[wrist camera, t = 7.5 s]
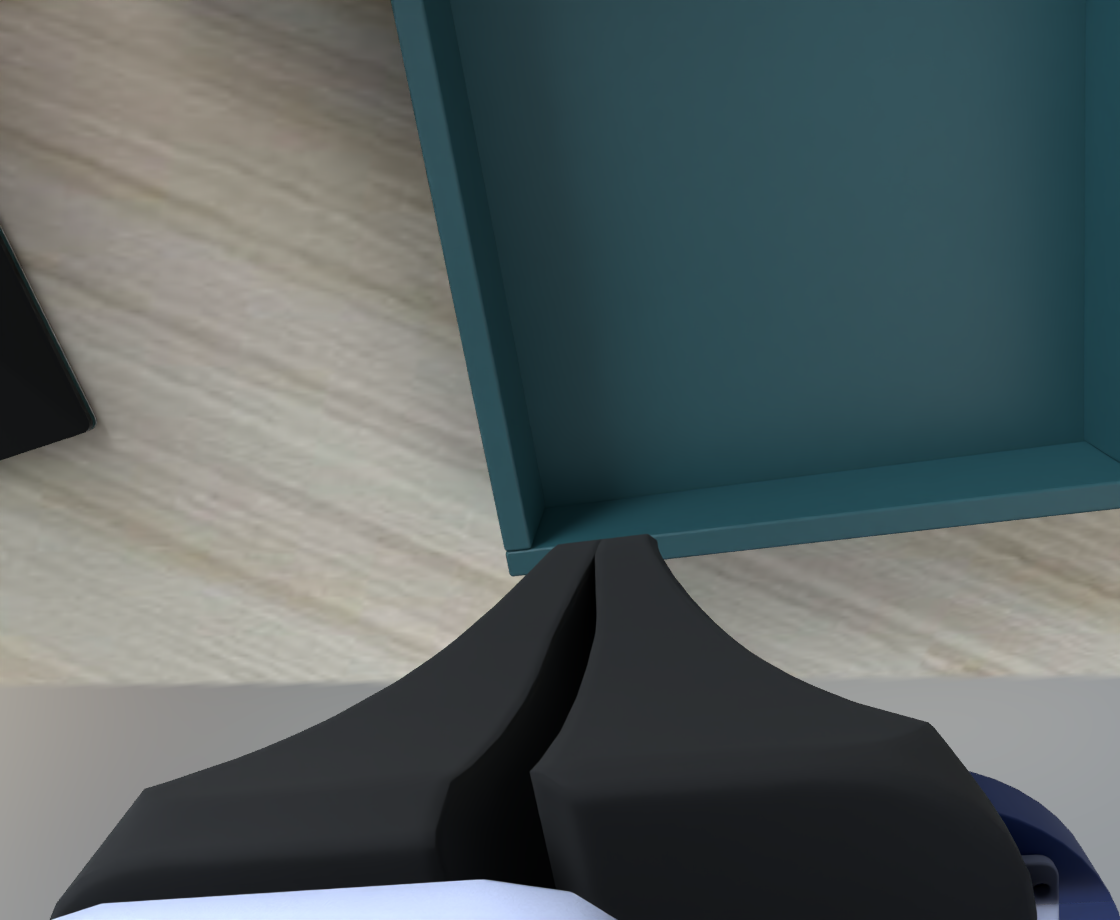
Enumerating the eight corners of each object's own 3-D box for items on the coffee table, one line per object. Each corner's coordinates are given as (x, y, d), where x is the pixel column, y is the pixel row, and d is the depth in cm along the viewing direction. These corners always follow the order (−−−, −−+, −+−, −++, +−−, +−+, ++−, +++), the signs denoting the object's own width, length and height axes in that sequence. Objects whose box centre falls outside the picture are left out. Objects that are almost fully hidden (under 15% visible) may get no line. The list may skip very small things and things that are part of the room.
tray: (1101, 455, 20) (1175, 503, 17) (529, 524, 22) (509, 578, 19) (1110, -439, 15) (1215, -580, 12) (378, -242, 17) (322, -325, 14)
